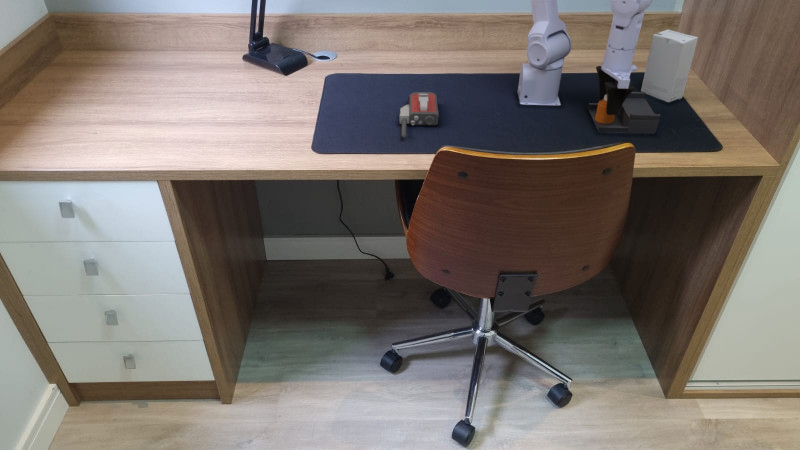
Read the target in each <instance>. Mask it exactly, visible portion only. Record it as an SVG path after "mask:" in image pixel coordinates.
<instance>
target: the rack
mask: <svg viewBox="0 0 800 450" xmlns="http://www.w3.org/2000/svg"><path fill="white" fill-rule="evenodd" d="M646 95H647V94H646V93H645V92H641V91H632V92H631V93H630V94H629V95H628V97H627V98H626V99H625V101H624V102H623V104H622V106H621V108H620V110H619V112H618V114H617V115H615V119H614V122H613V123H610V124H604V123H600V122H597V121H596V120H595V116H596V111H597V107H598V102H589V103H588V106H587V109H588V111H589V114H590V116H591V118H592V120H593V122H594V125H595V127H596V130H597V132H598V133H617V134H618V133H619V134H651V135H654V134H657V133H656V132H657V129H658V126H659V123H660V120H661V114H660V113H655V112H654V110H653V109H652V107H651V105H650V104H649V103H648V101H647V99H646Z"/></svg>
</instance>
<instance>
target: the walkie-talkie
mask: <svg viewBox="0 0 800 450" xmlns="http://www.w3.org/2000/svg"><path fill="white" fill-rule="evenodd" d="M439 113H440V110H439V107H438V95H437V94H436V93H435V92H434V91H433V92H432V91H414V92H412V93H410V94H409V95H408V96H407V104H406V105H403V106H402V107H400V111H399V115H398V116H399V117H398V118H399V119H398V121H399V124H401V138H403V139H405V138H407V124H408V125H410V126H437V125H438V124H439V120H440V114H439Z"/></svg>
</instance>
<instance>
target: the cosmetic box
mask: <svg viewBox="0 0 800 450" xmlns="http://www.w3.org/2000/svg"><path fill="white" fill-rule="evenodd" d="M698 41H699V36H695V35H691V34H686V33H682V32H679V31H676V30H671V29H665V30H663V31H660V32H656V33H654V34H652V38H651V43H650V47H649V52H648V57H647V61H646V66H645V70H644V75H643V80H642V85H641V89H640V92H645V93H646V95H649V96H651V97H653V98H656V99H658V100H661V101H664V102H667V103H671V102H673V101H676V100H681V99H682V98H684V93H685V91H686V85H687V82H688V79H689V75H690V71H691V67H692V63H693V60H694V55H695V51H696V49H697V44H698Z"/></svg>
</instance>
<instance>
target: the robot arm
mask: <svg viewBox="0 0 800 450" xmlns="http://www.w3.org/2000/svg"><path fill="white" fill-rule="evenodd" d="M652 3H653V0H610V2H609V4H610V9H611V12H612V21H611V24H610V30H609V34H608V39H607V43H606V47H605V52H604V56H603V61H602V63H601V65H597V66H596V67H595V70H596V73H597V78H598V99H599V101H602V100H603V99H604V96H605V95H606V94H607V105H606V113H607V115H617V114H618V112H619V110H620V108H621V106H622V104H623V102H624V101H625V99H626V98H627V97H628V95H629V94H630V93H631V92H634V90H635V86H634V85H633V84H631V78H630V77H631V73H632V72H636V71H637V69H638V67H637V66H636V65H635V64H633V63H634V58H635V53H636V50H637V45H638V42H639V37H640V32H641V29H642V26H643V21H644V16H645V12H646V11H645V10H647V9H648V8H649V7H650V6H651V4H652ZM530 6H531V13H532V20H533V25H532V27H531V29H530V30H529V32H528V34H527V41H528V42H527V47H526V58H527V61H528V62H526V63H525V62H523V63H521V66H520V70H519V71H520V72H519V78H518V80H519V81H518V86H517V90H516V91H517V92H516V93H517V95H518V102H519V104H520V105H525V106H526V105H527V106H529V105H530V106H531V105H532V106H533V105H535V106H561V105H562V104H561V101H560V98H559V91H560V86H561V85H560V84H561V79H562V73H563V67H564V62H565V58H566V57H567V56H569V54H570V53H571V51H572V47H573V41H572V39H571V37H570V34H569V33H568V30H567V25H566V23H565V22H564V21H562V19H561V18H560V16H559V8H558V0H530Z"/></svg>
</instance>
